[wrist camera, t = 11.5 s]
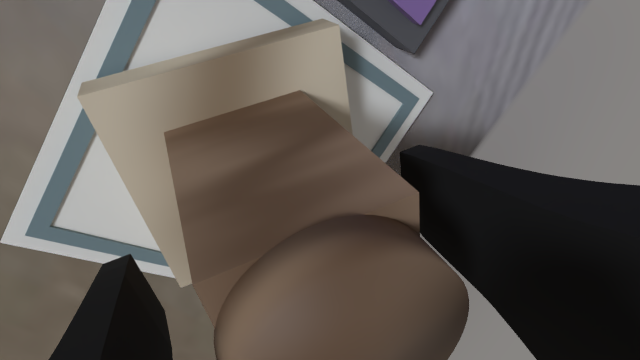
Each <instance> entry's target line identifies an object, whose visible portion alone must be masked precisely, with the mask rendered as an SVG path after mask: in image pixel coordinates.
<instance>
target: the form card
mask: <svg viewBox="0 0 640 360" xmlns="http://www.w3.org/2000/svg"><path fill="white" fill-rule="evenodd" d="M322 18H323V19H325V20H328V21H330V22H333V23H336V24H338V25H339V27H340V36H341V44H342V52H343V60H344V68H345V76H346V84H347V93H348V101H349V109H350V117H351V125H352V133H353V136H354V137H355V138H357V139H358V140H359V141H360V142H361V143H362V144H364V145H365V146H366V147H367V148H368V149H369V150H371V151H372V152H373V153H374V154H375V155H376V156H378V157H379V158H380V159H381V160H382V161H383V162H385V163H386V162H387V160H388V159H389V157H390V156H391V154H392V153H393V151H394V150H395V148H396V147H397V145H398V144H399V142H400V141H401V140H402V138H403V137H404V135H405V134H406V132H407V131H408V129H409V128H410V126H411V125H412V123H413V122H414V120H415V119H416V117H417V116H418V115H419V113H420V112H421V110H422V109H423V107H424V106H425V104H426V103H427V101H428V100H429V98H430V97H431V95H432V94H433V92H432V91H430V90H429V89H428V88H426V87H425V86H424V85H423V84H421V83H420V82H419V81H417V80H416V79H415V78H413V77H412V76H411V75H410V74H408V73H407V72H406V71H404V70H403V69H402V68H400V67H399V66H398V65H397V64H395V63H394V62H393V61H391V60H390V59H389V58H387V57H386V56H385V55H383V54H382V53H381V52H380V51H378V50H377V49H376V48H374V47H373V46H372V45H370V44H369V43H368V42H367V41H365V40H364V39H363V38H361V37H360V36H359V35H357V34H356V33H355V32H354V31H352V30H351V29H350V28H348V27H347V26H346V25H344V24H343V23H342V22H341V21H339V20H338V19H337V18H335V17H334V16H333V15H331V14H330V13H329V12H328V11H326V10H325V9H324V8H322V7H321V6H320V5H318V4H317V3H316V2H314V1H313V0H106V2H105V4H104V7H103V9H102V11H101V14H100V16H99V18H98V20H97V23H96V25H95V27H94V29H93V32H92V34H91V36H90V39H89V41H88V43H87V45H86V48H85V50H84V52H83V55H82V57H81V59H80V61H79V64H78V66H77V68H76V70H75V73H74V75H73V77H72V80H71V82H70V84H69V86H68V89H67V91H66V93H65V95H64V98H63V100H62V102H61V105H60V107H59V109H58V111H57V114H56V116H55V118H54V121H53V123H52V125H51V127H50V130H49V132H48V134H47V136H46V139H45V141H44V143H43V146H42V148H41V150H40V152H39V155H38V157H37V159H36V162H35V164H34V166H33V168H32V171H31V173H30V175H29V177H28V180H27V182H26V184H25V187H24V189H23V191H22V193H21V196H20V198H19V200H18V203H17V205H16V207H15V209H14V212H13V214H12V216H11V218H10V221H9V223H8V225H7V228H6V230H5V232H4V234H3V237H2V239H1V241H0V243H5V244H10V245H15V246H20V247H25V248H29V249H34V250H39V251H44V252H49V253H54V254H59V255H64V256H69V257H74V258H79V259H84V260H89V261H94V262H99V263H103V264H104V263H107V262H110V261H112V260H115V259H118V258H120V257H123V256H125V255H128V254H131V255H132V257H133V258H134V260H135V262H136V263H137V265H138V267H139V268H140V270H141V271H143V272H148V273H153V274H158V275H163V276H168V277H173V278H175V276H174V275H173V273H172V271H171V269H170V267H169V265H168V264H167V262H166V260H165V258H164V256H163V254H162V252H161V251H160V249H159V247H158V245H157V243H156V241H155V240H154V238H153V236H152V234H151V232H150V230H149V228H148V227H147V225H146V223H145V221H144V219H143V217H142V216H141V214H140V212H139V210H138V208H137V206H136V205H135V203H134V201H133V199H132V197H131V195H130V193H129V192H128V190H127V188H126V186H125V184H124V182H123V181H122V179H121V177H120V175H119V173H118V171H117V169H116V168H115V166H114V164H113V162H112V160H111V158H110V157H109V155H108V153H107V151H106V149H105V147H104V146H103V144H102V142H101V140H100V138H99V136H98V134H97V133H96V131H95V129H94V127H93V125H92V123H91V122H90V120H89V118H88V116H87V114H86V112H85V110H84V109H83V107H82V105H81V103H80V101H79V99H78V98H77V95H78V92H79V89H80V86H81V83H82V82H86V81H90V80H93V79H97V78H101V77H105V76H108V75H112V74H116V73H120V72H123V71H127V70H131V69H135V68H138V67H142V66H146V65H150V64H153V63H157V62H161V61H165V60H168V59H172V58H176V57H180V56H183V55H187V54H191V53H195V52H198V51H202V50H206V49H210V48H213V47H217V46H221V45H225V44H228V43H232V42H236V41H240V40H243V39H247V38H251V37H255V36H258V35H262V34H266V33H270V32H273V31H277V30H281V29H285V28H288V27H292V26H296V25H300V24H303V23H307V22H311V21H315V20H318V19H322Z"/></svg>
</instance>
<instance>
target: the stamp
mask: <svg viewBox="0 0 640 360" xmlns="http://www.w3.org/2000/svg"><path fill="white" fill-rule="evenodd" d="M77 98H78V99H79V101H80V103H81V105H82V107H83V109H84V110H85V112H86V114H87V116H88V118H89V120H90V122H91V123H92V125H93V127H94V129H95V131H96V133H97V134H98V136H99V138H100V140H101V142H102V144H103V146H104V147H105V149H106V151H107V153H108V155H109V157H110V158H111V160H112V162H113V164H114V166H115V168H116V169H117V171H118V173H119V175H120V177H121V179H122V181H123V182H124V184H125V186H126V188H127V190H128V192H129V193H130V195H131V197H132V199H133V201H134V203H135V205H136V206H137V208H138V210H139V212H140V214H141V216H142V217H143V219H144V221H145V223H146V225H147V227H148V228H149V230H150V232H151V234H152V236H153V238H154V240H155V241H156V243H157V245H158V247H159V249H160V251H161V252H162V254H163V256H164V258H165V260H166V262H167V264H168V265H169V267H170V269H171V271H172V273H173V275H174V276H175V278H176V280H177V282H178V284H179V286H180V287H181V288H182V287H184V286H187V285H189V284H192V285H193V287H194V289H195V291H196V293H197V295H198V297H199V299H200V300H201V302H202V304H203V306H204V308H205V310H206V312H207V314H208V316H209V318H210V320H211V322H212V324H213V326H214V328H215V330H214V348H215V354H216V358H217V360H447V359H448V358H449V356H450V355H451V353H452V352H453V351H454V349H455V347H456V345H457V343H458V342H459V340H460V337H461V335H462V333H463V330H464V328H465V324H466V322H467V317H468V312H469V298H468V292H467V289H466V287H465V284H464V282H463V281H462V280H461V278H460V277H459V276H458V275H457V274H456V273H455V272H454V271H453V270H452V269H451V268H450V267H449V266H448V265H447V263H446V262H444V261H443V259H442V258H441V257H439V255H438V254H437V253H436V252H435V251H434V250H433V249H432V248H430V246H429V245H428V244H427V243H426V242H425V241H424V240H423V239H422V238H421V237H420V219H419V192H418V191H417V190H416V189H415V188H414V187H413V186H411V185H410V184H409V183H408V182H407V181H406V180H404V179H403V178H402V177H401V176H400V175H399V174H397V173H396V172H395V171H394V170H393V169H392V168H390V167H389V166H388V165H387V164H386V163H385V162H383V161H382V160H381V159H380V158H379V157H378V156H376V155H375V154H374V153H373V152H372V151H371V150H369V149H368V148H367V147H366V146H365V145H364V144H362V143H361V142H360V141H359V140H358V139H357V138H355V137H354V136H353V133H352V125H351V117H350V109H349V101H348V93H347V84H346V76H345V68H344V60H343V52H342V44H341V36H340V27H339V25H338V24H336V23H333V22H330V21H328V20H325V19H323V18H322V19H318V20H315V21H311V22H307V23H303V24H300V25H296V26H292V27H288V28H285V29H281V30H277V31H273V32H270V33H266V34H262V35H258V36H255V37H251V38H247V39H243V40H240V41H236V42H232V43H228V44H225V45H221V46H217V47H213V48H210V49H206V50H202V51H198V52H195V53H191V54H187V55H183V56H180V57H176V58H172V59H168V60H165V61H161V62H157V63H153V64H150V65H146V66H142V67H138V68H135V69H131V70H127V71H123V72H120V73H116V74H112V75H108V76H105V77H101V78H97V79H93V80H90V81H86V82H82V83H81V86H80V89H79V92H78V95H77Z"/></svg>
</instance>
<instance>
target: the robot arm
mask: <svg viewBox="0 0 640 360" xmlns="http://www.w3.org/2000/svg"><path fill="white" fill-rule="evenodd" d="M400 162H401V177H402V178H403V179H404V180H406V181H407V182H408V183H409V184H410V185H411V186H413V187H414V188H415V189H416V190H417V191H418V192H419V219H420V233H421V234H422V236H423V237H424V238H425V239H426V240H427V241H428V242H429V243H430V244H431V245H432V246H433V247H434V248H435V249H436V250H437V251H438V252H439V253H440V254H441V255H442V256H443V257H444V258H445V259H446V260H447V261H448V262H449V263H450V264H451V265H452V266H453V267H455V269H456V270H457V271H459V272H460V273H461V274H462V275H463V276H464V277H465V278H466V279H467V280H468V281H469V282H470V283H471V284H472V285H473V286H474V287H475V288H476V289H477V290H478V291H479V292H480V293H481V294H482V295H483V296H484V297H485V298H486V299H487V300H488V301H489V302H490V303H491V304H492V306H493V307H494V308H495V309H496V310H497V311H498V313H499V314H500V315H501V316H502V317H503V319H504V320H505V321H506V322H507V323H508V325H509V326H510V327H511V328H512V329H513V331H514V332H515V333H516V334H517V335H518V337H519V338H520V339H521V340H522V342H523V343H524V344H525V345H526V347H527V348H528V349H529V351H530V352H531V353H532V354H533V355H534V357H535V358H536V359H537V360H640V186H637V185H625V184H613V183H604V182H595V181H587V180H580V179H573V178H566V177H558V176H554V175H548V174H542V173H537V172H532V171H528V170H523V169H518V168H513V167H508V166H504V165H500V164H496V163H492V162H488V161H484V160H480V159H476V158H472V157H468V156H464V155H461V154H457V153H453V152H449V151H445V150H441V149H437V148H432V147H427V146H422V145H418V146H415V147H412V148H410V149H407V150H404V151H402V152H400ZM49 360H173V358H172V347H171V341H170V335H169V330H168V325H167V320H166V315H165V310H164V309H163V307H162V305H161V304H160V302H159V300H158V299H157V297H156V295H155V294H154V292H153V290H152V289H151V287H150V285H149V284H148V282H147V280H146V279H145V277H144V275H143V273H142V272H141V270H140V268H139V267H138V265H137V263H136V262H135V260H134V258H133V257H132V255H131V254H128V255H125V256H123V257H120V258H118V259H115V260H112V261H110V262H107V263H104V264H103V265H102V267H101V268H100V270H99V272H98V274H97V276H96V277H95V279H94V281H93V283H92V285H91V287H90V288H89V290H88V292H87V294H86V296H85V298H84V299H83V301H82V303H81V305H80V307H79V309H78V310H77V312H76V314H75V316H74V318H73V319H72V321H71V323H70V325H69V326H68V328H67V330H66V332H65V334H64V335H63V337H62V339H61V341H60V342H59V344H58V346H57V347H56V349H55V350H54V352H53V354H52V355H51V357H50V358H49Z"/></svg>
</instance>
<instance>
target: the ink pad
mask: <svg viewBox="0 0 640 360" xmlns="http://www.w3.org/2000/svg"><path fill="white" fill-rule="evenodd" d="M338 1H339V2H340V3H341V4H343V5H344V6H345V7H346V8H348V9H349V10H350V11H351V12H353V13H354V14H355V15H356V16H358V17H359V18H360V19H361V20H363V21H364V22H365V23H366V24H367V25H369V26H370V27H371V28H372V29H374V30H375V31H376V32H377V33H379V34H380V35H381V36H382V37H384V38H385V39H386V40H387V41H389V42H390V43H391V44H392V45H394V46H395V47H397V48H400V49H403V50H405V51H408V52H411V53H415V52H416V50H417V49H418V47H419V46H420V44H421V43H422V41H423V39H424V38H425V36H426V35H427V33H428V32H429V30H430V29H431V27H432V26H433V24H434V23H435V21H436V19H437V18H438V16H439V15H440V13H441V12H442V10H443V9H444V7H445V6H446V4H447V3H448V1H449V0H338Z"/></svg>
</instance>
